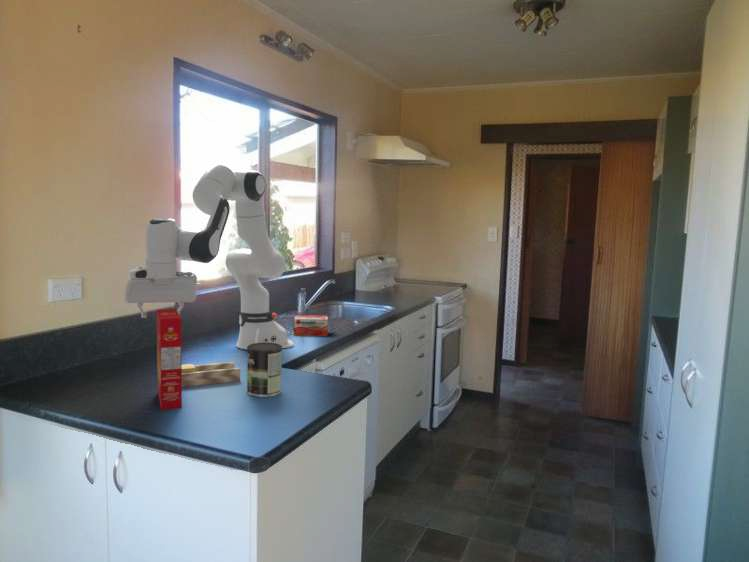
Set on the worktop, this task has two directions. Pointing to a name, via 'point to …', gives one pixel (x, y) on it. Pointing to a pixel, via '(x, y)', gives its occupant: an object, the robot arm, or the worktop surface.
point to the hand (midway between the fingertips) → (160, 317)
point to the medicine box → (310, 325)
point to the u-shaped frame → (211, 374)
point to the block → (188, 368)
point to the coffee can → (264, 369)
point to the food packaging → (169, 359)
